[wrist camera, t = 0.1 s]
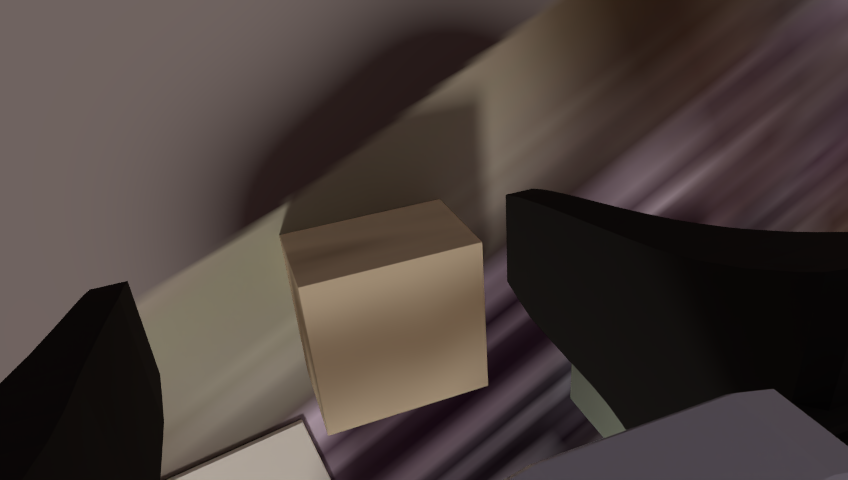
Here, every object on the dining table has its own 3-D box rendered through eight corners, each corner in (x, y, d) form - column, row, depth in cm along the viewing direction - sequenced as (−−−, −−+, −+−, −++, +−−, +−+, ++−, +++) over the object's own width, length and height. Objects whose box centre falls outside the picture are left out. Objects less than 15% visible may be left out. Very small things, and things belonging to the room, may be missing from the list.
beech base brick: (447, 327, 27) (488, 385, 23) (306, 367, 25) (328, 435, 22) (437, 196, 24) (481, 242, 21) (278, 232, 22) (298, 287, 19)
